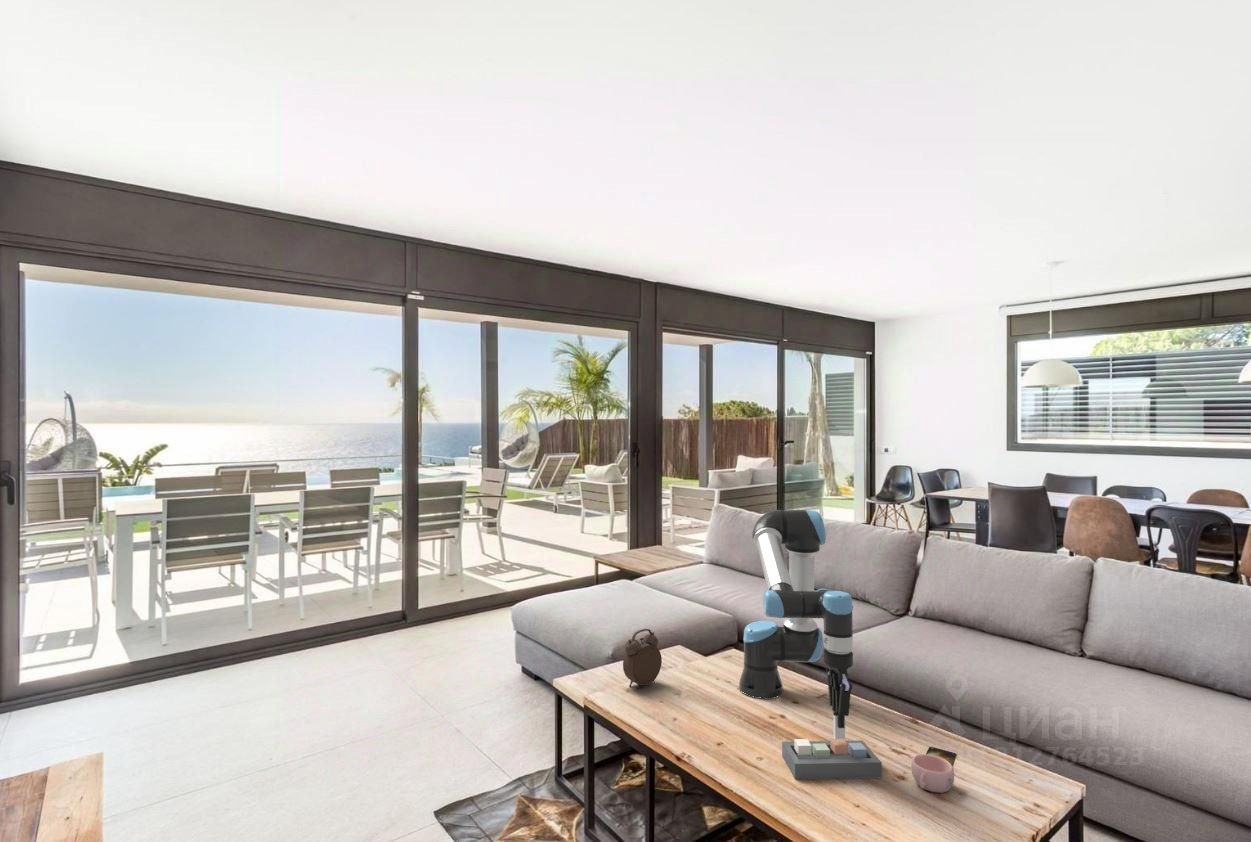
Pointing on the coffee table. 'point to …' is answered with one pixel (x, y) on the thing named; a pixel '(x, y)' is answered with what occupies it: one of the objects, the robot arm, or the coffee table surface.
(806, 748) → the key
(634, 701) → the coffee table surface
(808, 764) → the gray rectangular tray
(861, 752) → the key
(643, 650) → the alarm clock
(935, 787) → the mug
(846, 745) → the key
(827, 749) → the key
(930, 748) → the smartphone
